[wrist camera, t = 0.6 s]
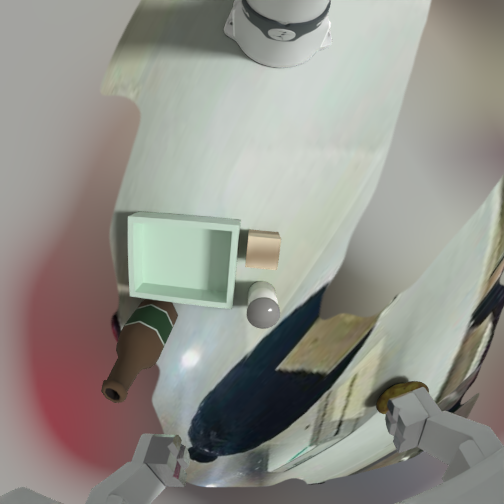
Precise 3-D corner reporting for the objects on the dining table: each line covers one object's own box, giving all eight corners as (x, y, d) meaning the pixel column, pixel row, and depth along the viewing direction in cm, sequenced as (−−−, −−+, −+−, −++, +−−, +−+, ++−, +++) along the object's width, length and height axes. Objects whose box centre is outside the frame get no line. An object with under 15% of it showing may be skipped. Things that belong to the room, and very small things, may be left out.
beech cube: (248, 229, 49) (248, 235, 45) (278, 232, 49) (281, 239, 45) (245, 257, 51) (245, 267, 46) (274, 260, 51) (277, 270, 46)
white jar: (248, 279, 52) (248, 297, 44) (278, 282, 52) (282, 300, 44) (246, 305, 53) (245, 327, 46) (274, 307, 53) (277, 329, 46)
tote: (138, 211, 48) (127, 216, 43) (240, 219, 49) (239, 225, 44) (139, 285, 52) (129, 296, 47) (233, 296, 53) (232, 309, 48)
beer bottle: (158, 285, 52) (103, 362, 29) (187, 315, 54) (151, 403, 31) (133, 308, 53) (77, 385, 30) (161, 335, 55) (120, 421, 32)
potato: (374, 385, 59) (385, 407, 52) (420, 368, 59) (434, 388, 51) (373, 407, 62) (383, 428, 54) (417, 390, 61) (429, 410, 53)
